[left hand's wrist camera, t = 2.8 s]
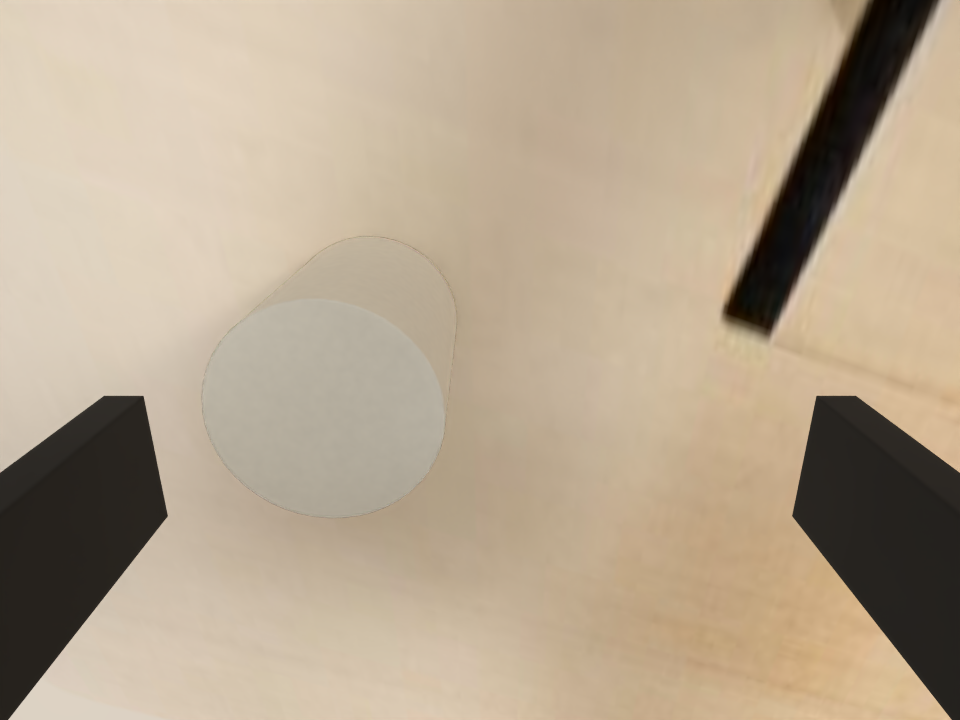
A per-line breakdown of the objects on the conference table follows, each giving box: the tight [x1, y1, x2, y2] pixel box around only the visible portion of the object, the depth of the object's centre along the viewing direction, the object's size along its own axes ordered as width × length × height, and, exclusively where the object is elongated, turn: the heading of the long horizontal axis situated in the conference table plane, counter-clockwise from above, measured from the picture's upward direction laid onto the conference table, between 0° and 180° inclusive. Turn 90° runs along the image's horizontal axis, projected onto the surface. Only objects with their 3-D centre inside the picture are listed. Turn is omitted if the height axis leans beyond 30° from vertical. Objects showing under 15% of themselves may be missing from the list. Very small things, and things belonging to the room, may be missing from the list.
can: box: [202, 236, 457, 518], centre depth 23 cm, size 7×7×10 cm
